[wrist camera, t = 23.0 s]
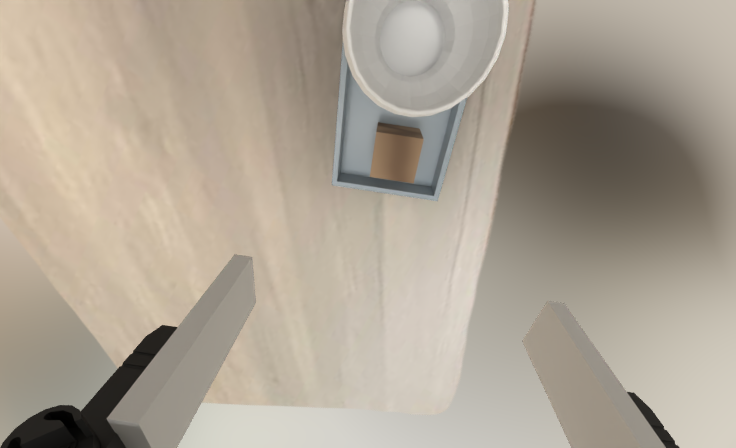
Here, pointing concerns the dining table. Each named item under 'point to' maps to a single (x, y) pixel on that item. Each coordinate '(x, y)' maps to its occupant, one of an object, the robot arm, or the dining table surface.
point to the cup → (422, 50)
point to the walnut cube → (396, 152)
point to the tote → (359, 139)
